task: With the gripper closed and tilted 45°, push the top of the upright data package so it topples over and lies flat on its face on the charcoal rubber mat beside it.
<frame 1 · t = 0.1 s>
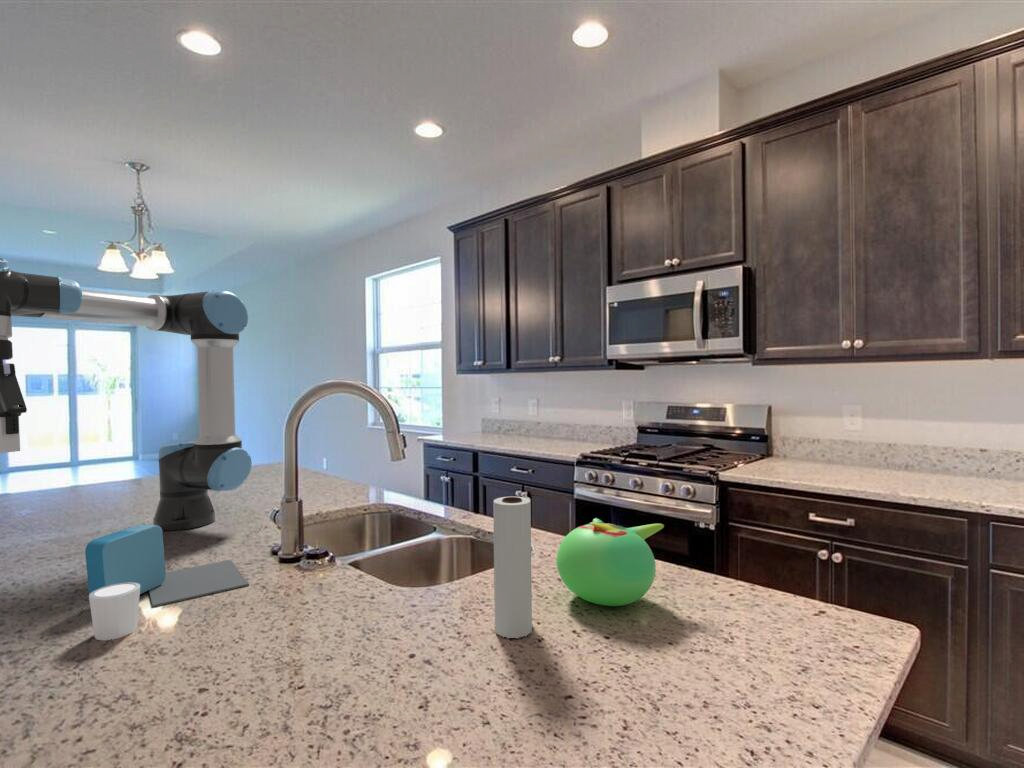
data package: (130, 595, 104), on the countertop, touching mat
paper towel roll: (516, 631, 88), on the countertop
mat: (196, 581, 111), on the countertop
green rounded piece: (607, 600, 100), on the countertop
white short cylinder: (116, 633, 89), on the countertop
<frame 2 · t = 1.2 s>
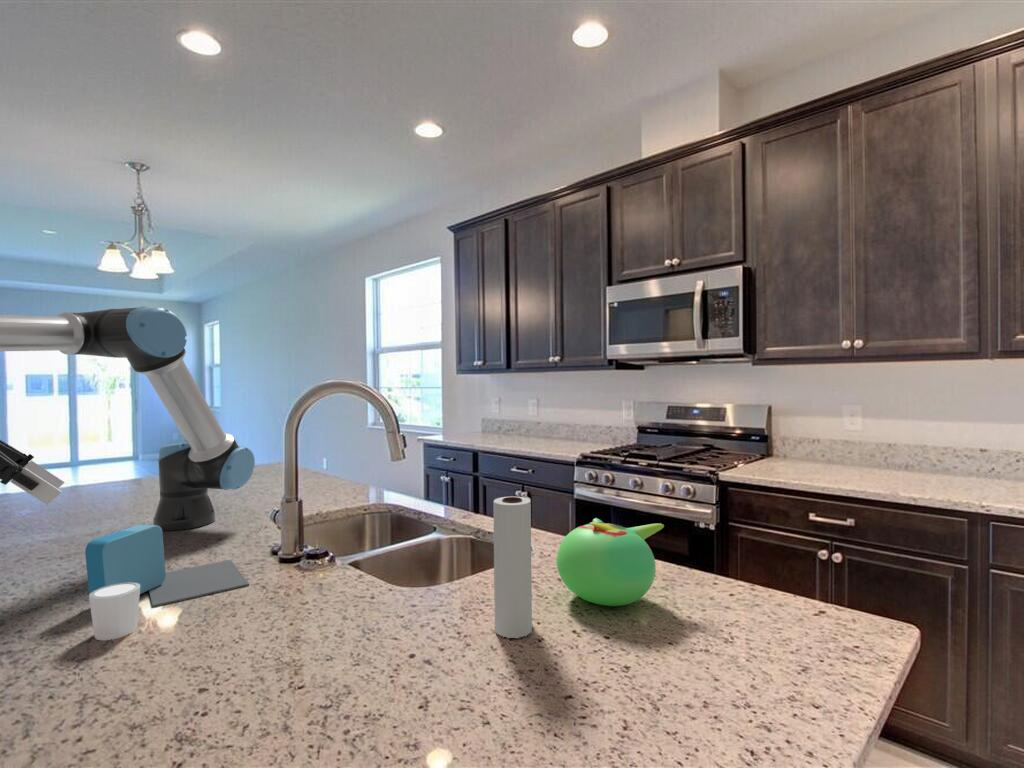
hand: (56, 493, 97), 21 cm above the countertop, tool tilted 45°, fingers open, 10 cm apart
nothing on the countertop moved.
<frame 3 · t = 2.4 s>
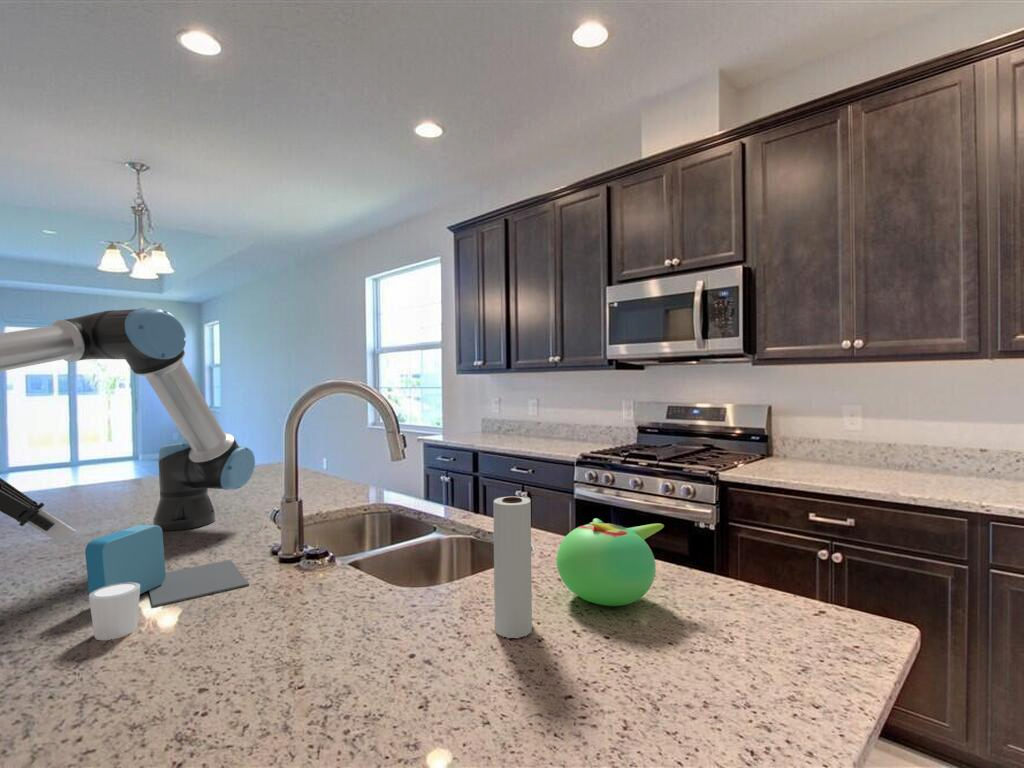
hand: (68, 536, 98), 13 cm above the countertop, tool tilted 45°, fingers closed
nothing on the countertop moved.
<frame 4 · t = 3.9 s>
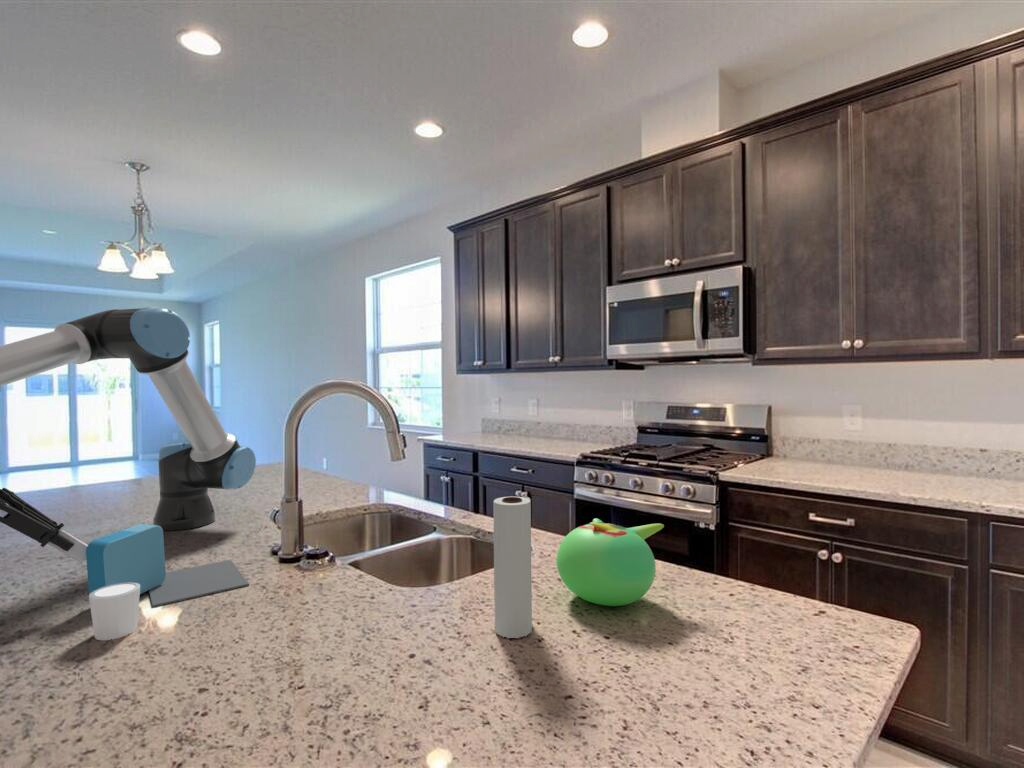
hand: (87, 556, 100), 9 cm above the countertop, tool tilted 45°, fingers closed
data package: (130, 595, 104), on the countertop, touching gripper, mat
everything else where it was.
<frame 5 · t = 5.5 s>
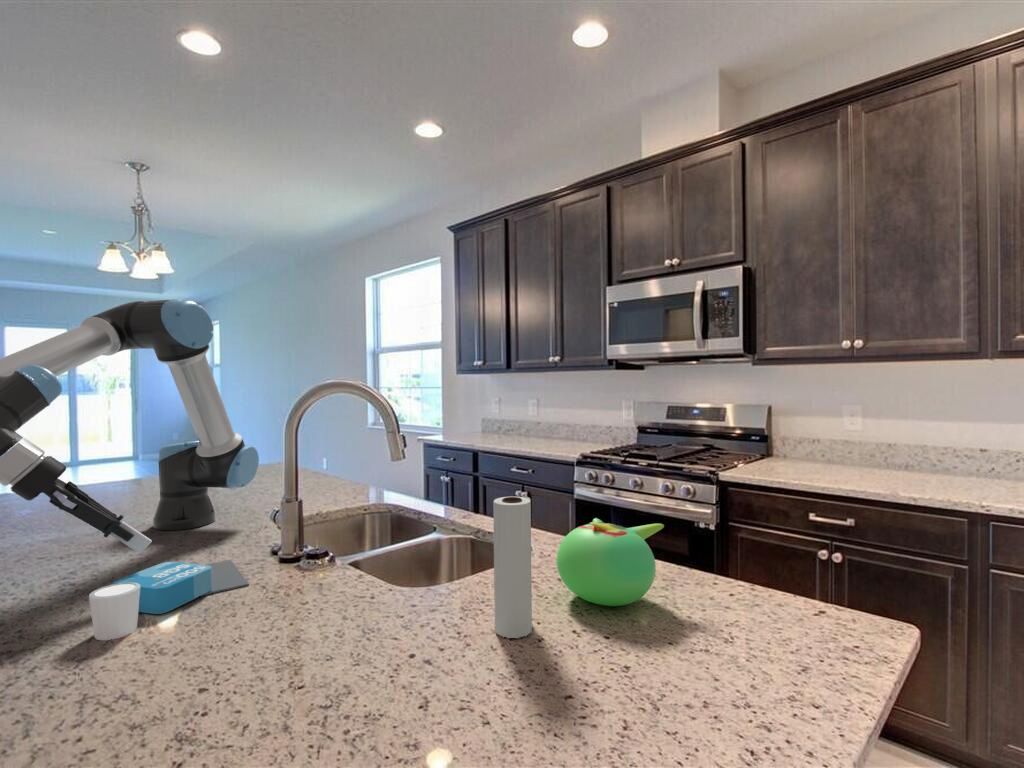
hand: (145, 546, 105), 9 cm above the countertop, tool tilted 45°, fingers closed
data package: (138, 583, 103), point 3 cm above the countertop, touching mat
everything else where it was.
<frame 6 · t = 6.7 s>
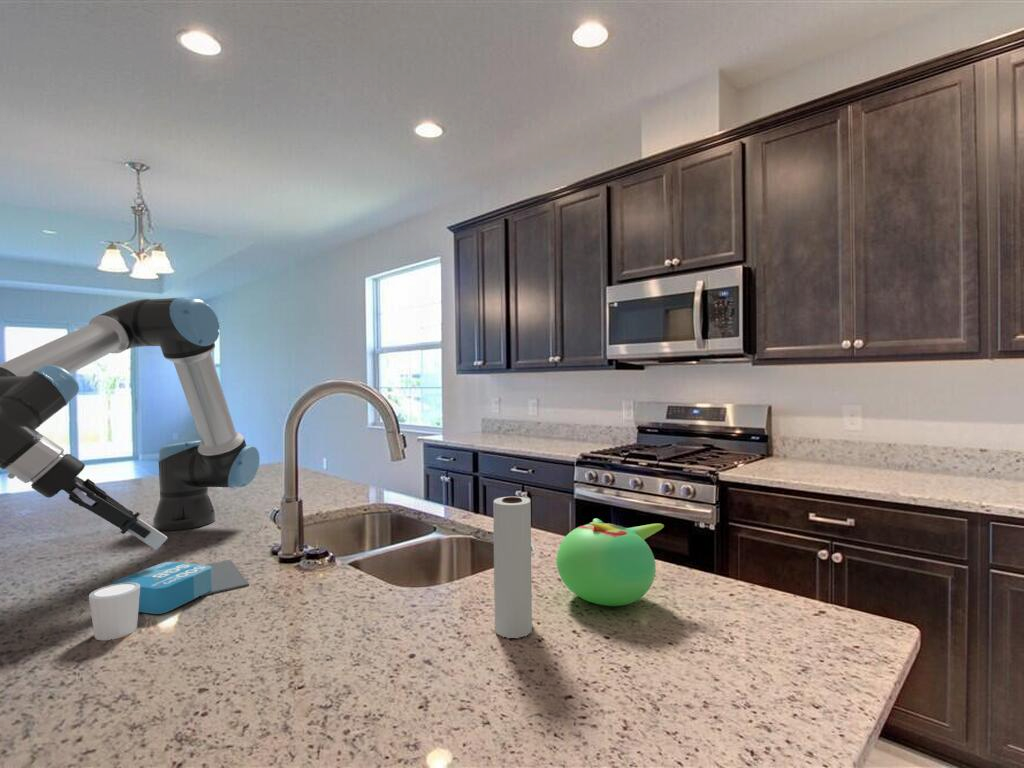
hand: (161, 543, 107), 9 cm above the countertop, tool tilted 45°, fingers closed
nothing on the countertop moved.
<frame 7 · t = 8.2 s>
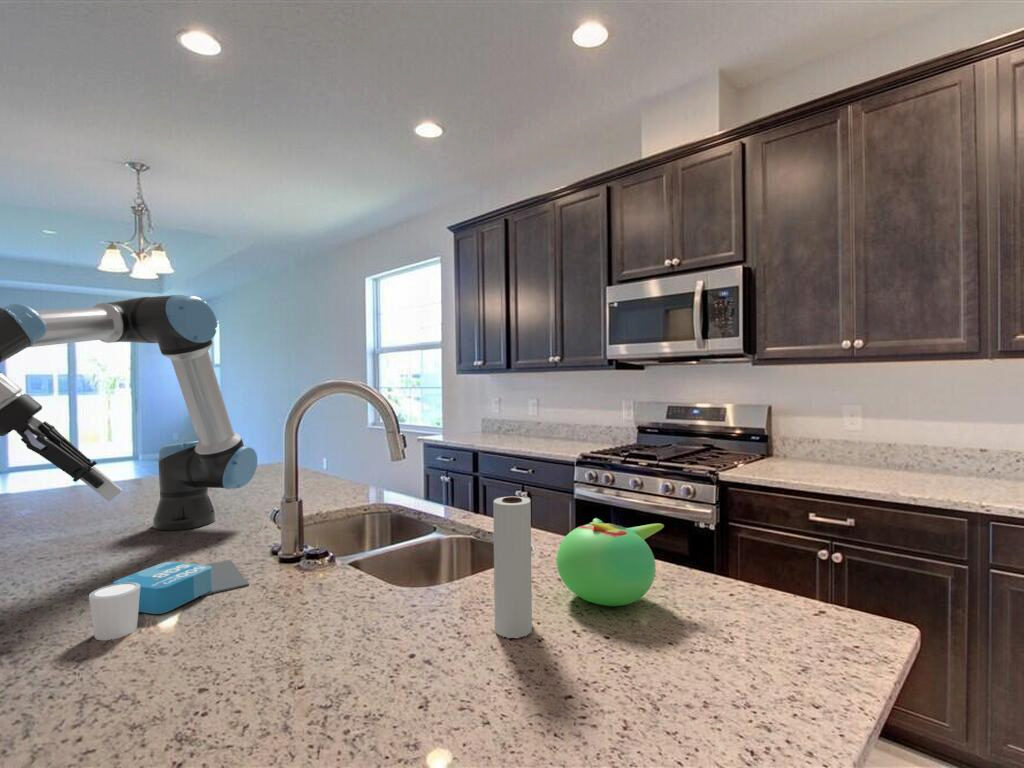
hand: (115, 495, 104), 19 cm above the countertop, tool tilted 40°, fingers closed
nothing on the countertop moved.
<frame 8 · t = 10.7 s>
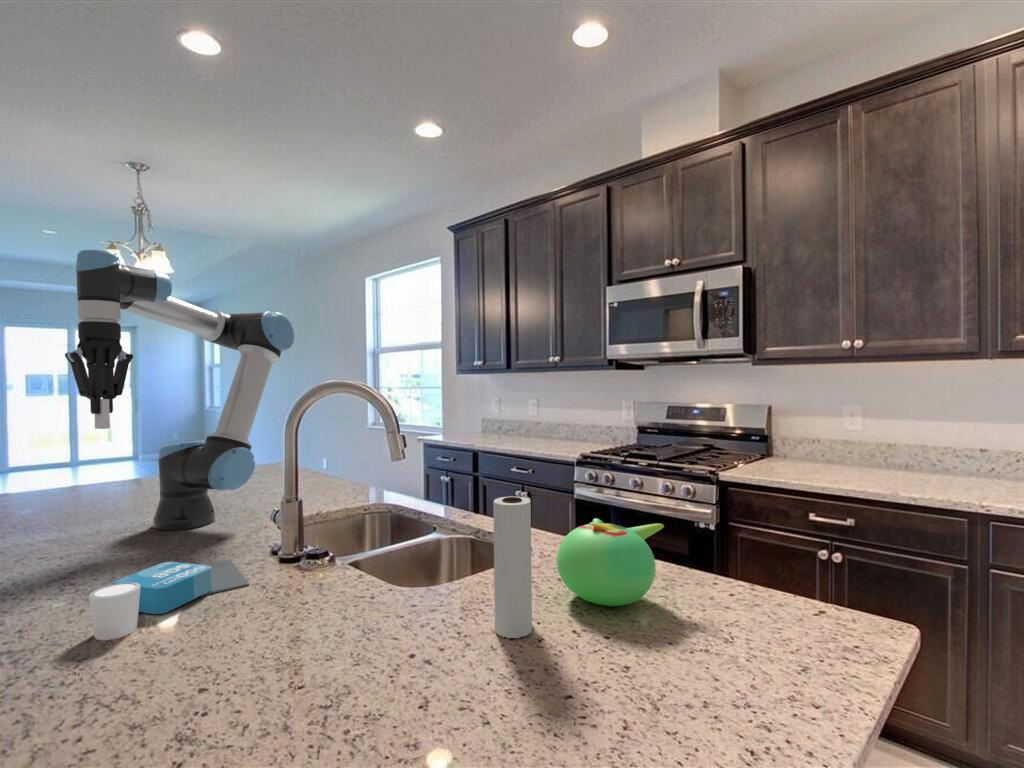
hand: (102, 428, 121), 30 cm above the countertop, tool pointing down, fingers closed
nothing on the countertop moved.
at the end: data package tilted 90°; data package touching mat; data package inside the target area (9.2 cm from its centre), point 2.7 cm above the countertop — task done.
